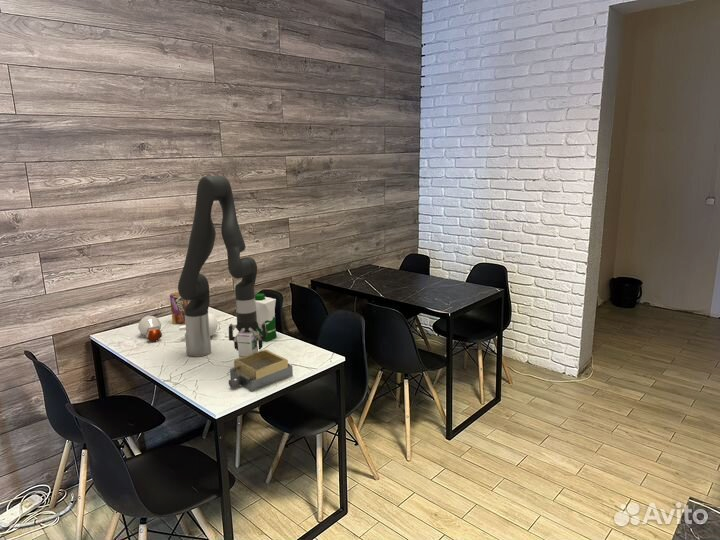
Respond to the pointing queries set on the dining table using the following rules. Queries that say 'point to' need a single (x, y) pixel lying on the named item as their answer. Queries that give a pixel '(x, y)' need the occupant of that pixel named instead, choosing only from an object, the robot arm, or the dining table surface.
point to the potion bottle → (150, 328)
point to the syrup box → (246, 344)
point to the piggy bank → (212, 324)
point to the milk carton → (266, 315)
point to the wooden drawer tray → (259, 370)
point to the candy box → (178, 308)
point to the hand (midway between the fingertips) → (248, 349)
